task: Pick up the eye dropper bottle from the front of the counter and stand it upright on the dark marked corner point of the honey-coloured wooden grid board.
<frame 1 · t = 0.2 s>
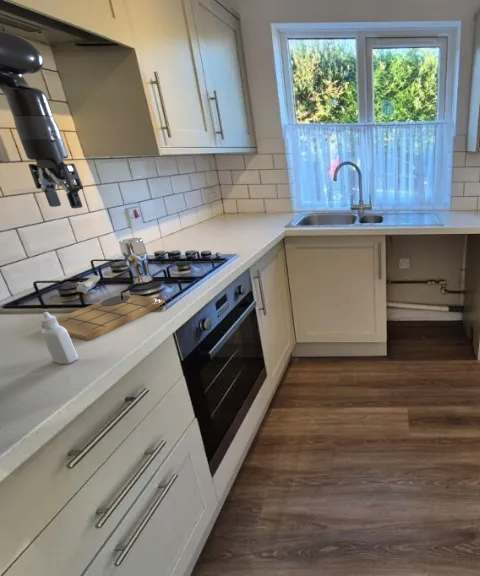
hand: (66, 207, 91), 30 cm above the countertop, tool pointing down, fingers open, 8 cm apart
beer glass: (143, 282, 126), on the countertop
eye dropper bottle: (66, 360, 82), on the countertop
bone fragment: (90, 289, 121), on the countertop
board: (108, 316, 102), on the countertop
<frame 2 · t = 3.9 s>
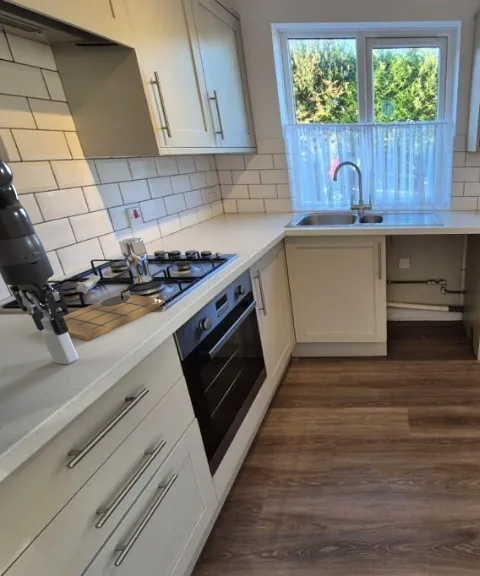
hand: (53, 330, 79), 8 cm above the countertop, tool pointing down, fingers closed on eye dropper bottle, 5 cm apart
eye dropper bottle: (66, 360, 82), on the countertop, touching gripper
everything else where it was.
when the fingers open (9 cm above the countertop, at t = 11.5 s): eye dropper bottle stays where it is, resting on board.
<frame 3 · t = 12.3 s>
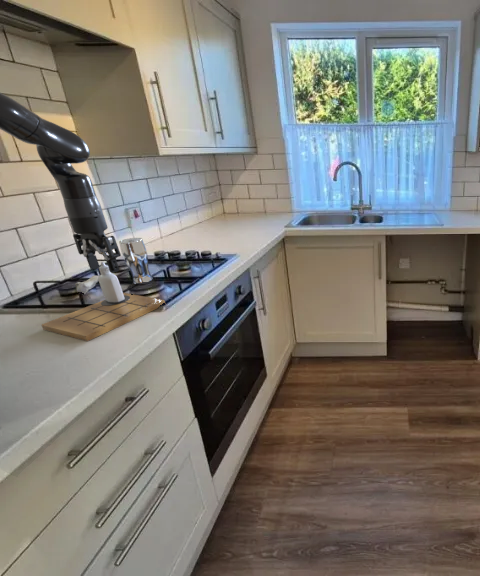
hand: (105, 270, 104), 11 cm above the countertop, tool pointing down, fingers open, 8 cm apart
eye dropper bottle: (115, 300, 108), point 1 cm above the countertop, touching board
everything else where it was.
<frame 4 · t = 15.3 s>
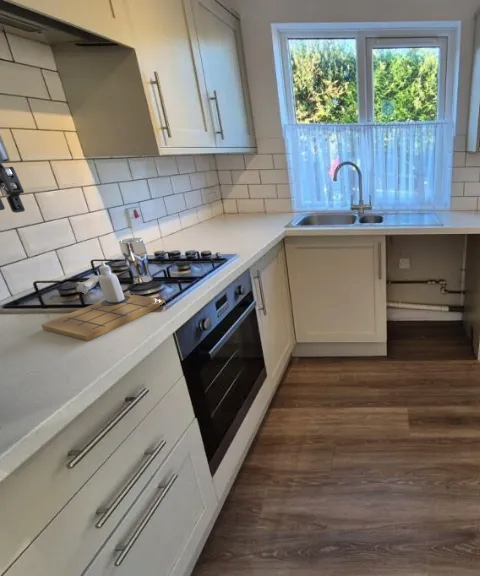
hand: (9, 211, 89), 30 cm above the countertop, tool pointing down, fingers open, 8 cm apart
nothing on the countertop moved.
at the end: eye dropper bottle 0.1 cm from the target spot on the board, point 1.4 cm above the board's base; eye dropper bottle tilted 0°; the gripper is holding nothing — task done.
